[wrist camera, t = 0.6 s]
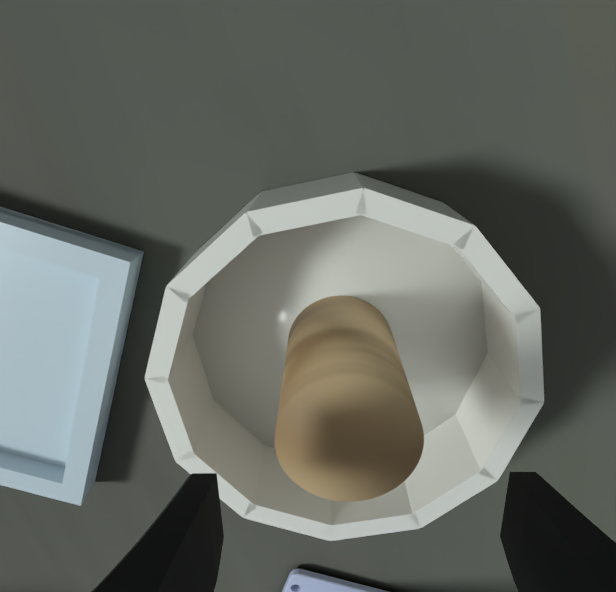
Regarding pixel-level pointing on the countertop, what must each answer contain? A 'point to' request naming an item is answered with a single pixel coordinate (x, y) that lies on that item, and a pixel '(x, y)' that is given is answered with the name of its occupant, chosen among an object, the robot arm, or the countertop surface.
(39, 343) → the blue-grey tray
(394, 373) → the oak plug
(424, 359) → the white faceted bowl
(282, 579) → the countertop surface
